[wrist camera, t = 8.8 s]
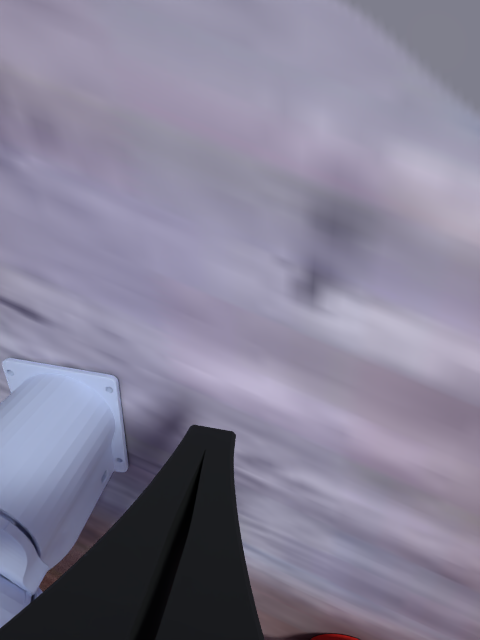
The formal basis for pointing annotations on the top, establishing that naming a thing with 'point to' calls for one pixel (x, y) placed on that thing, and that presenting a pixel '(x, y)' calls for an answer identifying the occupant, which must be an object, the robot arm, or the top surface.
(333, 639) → the ceramic cup
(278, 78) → the top surface
